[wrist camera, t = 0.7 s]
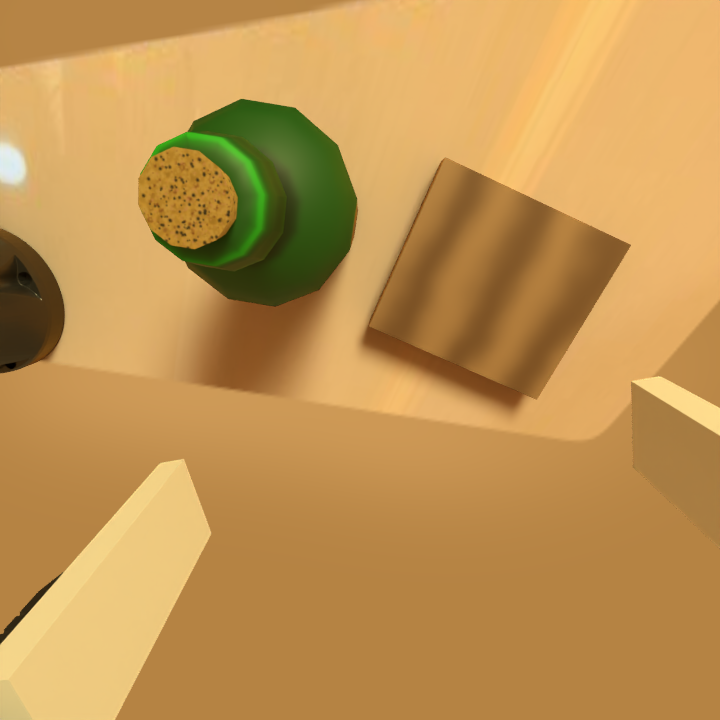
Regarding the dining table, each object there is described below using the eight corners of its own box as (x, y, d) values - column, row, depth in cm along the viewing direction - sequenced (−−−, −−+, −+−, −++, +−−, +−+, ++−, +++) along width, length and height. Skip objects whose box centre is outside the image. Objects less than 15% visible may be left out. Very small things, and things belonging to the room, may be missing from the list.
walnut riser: (370, 320, 44) (368, 326, 41) (440, 162, 39) (445, 157, 37) (527, 388, 45) (536, 399, 42) (613, 243, 41) (631, 245, 38)
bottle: (268, 278, 43) (82, 361, 17) (249, 163, 40) (-17, 39, 14) (374, 267, 42) (356, 337, 16) (363, 149, 39) (318, -14, 13)
